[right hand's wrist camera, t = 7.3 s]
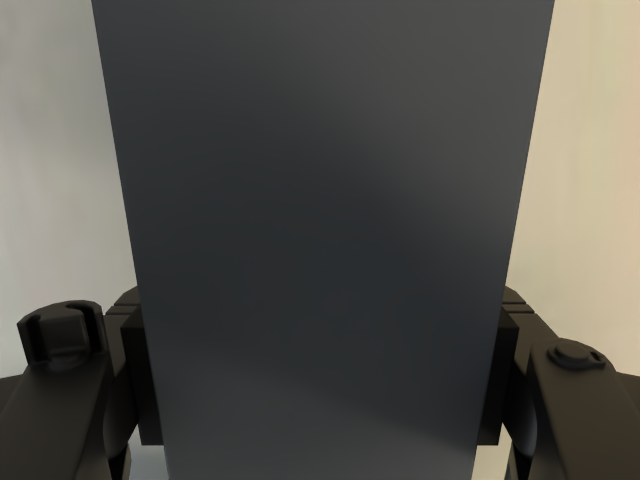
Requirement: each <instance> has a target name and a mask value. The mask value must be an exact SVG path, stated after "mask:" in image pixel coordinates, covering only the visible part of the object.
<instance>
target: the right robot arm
mask: <svg viewBox="0 0 640 480" xmlns="http://www.w3.org/2000/svg"><path fill="white" fill-rule="evenodd" d="M17 327H18V331H19V334H20V338H21V341H22V345H23V349H24V352H25V356H26V359H27V363H28V366H27V367H26V369H25V371H24V373H23V374H21V375H17V376H11V377H6V378H1V379H0V480H129V474H130V467H131V454H130V449H129V443H128V440H129V439H130V437H131V435H132V433H133V431H134V429H135V427H136V425H137V424H138V428H139V434H140V439H141V445H163V439H162V433H161V427H160V421H159V415H158V409H157V402H156V396H155V390H154V384H153V378H152V372H151V365H150V359H149V353H148V347H147V341H146V335H145V328H144V322H143V316H142V310H141V304H140V298H139V291H138V286H136V287H134V288H132V289H130V290H129V291H127V292H125V293H123V295H122V296H121V297H120V298H119V299H118V300H117V301H116V302H115V303H114V306H111V308H110V309H109V310H108V311H107V312H106V314H105V315H103V313H102V308H101V306H100V305H98V304H97V303H95V302H92V301H86V300H73V301H65V302H60V303H55V304H51V305H48V306H46V307H43V308H40V309H37V310H35V311H33V312H32V313H30V314H28V315H26V316H24V317H23V318H22V319H21V320H20V321H19V322H18V323H17ZM502 422H503V424H504V426H505V428H506V429H507V431H508V433H509V435H510V437H511V439H512V443H511V449H510V454H509V459H508V464H507V469H506V474H505V479H504V480H640V377H639V376H634V375H629V374H623V373H619V372H616V370H615V368H614V367H613V365H612V363H611V362H610V361H609V360H608V359H607V358H606V357H605V355H603V354H602V353H600V352H598V351H597V350H595V349H594V348H592V347H590V346H587V345H585V344H582V343H580V342H577V341H573V340H569V339H564V338H559V337H558V336H557V335H556V334H555V333H554V332H553V331H552V330H551V329H550V328H549V326H548V325H547V324H546V323H545V322H544V321H543V320H542V319H541V318H540V317H539V316H538V315H537V314H535V313H534V310H533V309H532V308H531V307H530V306H529V305H526V302H525V301H524V300H523V299H522V297H521V296H520V295H519V294H518V293H517V292H516V291H514V290H512V289H510V288H509V287H507V286H505V288H504V294H503V300H502V306H501V311H500V317H499V323H498V329H497V334H496V340H495V346H494V352H493V357H492V363H491V369H490V375H489V380H488V386H487V392H486V398H485V403H484V409H483V415H482V420H481V426H480V432H479V438H478V443H477V445H498V443H499V437H500V432H501V427H502Z"/></svg>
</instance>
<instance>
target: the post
mask: <svg viewBox="0 0 640 480" xmlns="http://www.w3.org/2000/svg"><path fill="white" fill-rule="evenodd" d="M554 1H555V0H91V2H92V8H93V14H94V20H95V26H96V32H97V39H98V45H99V51H100V57H101V63H102V69H103V76H104V82H105V88H106V94H107V100H108V106H109V113H110V119H111V125H112V131H113V137H114V143H115V150H116V156H117V162H118V168H119V174H120V180H121V187H122V193H123V199H124V205H125V211H126V217H127V224H128V230H129V236H130V242H131V248H132V254H133V261H134V267H135V273H136V279H137V285H138V291H139V298H140V304H141V310H142V316H143V322H144V328H145V335H146V341H147V347H148V353H149V359H150V365H151V372H152V378H153V384H154V390H155V396H156V402H157V409H158V415H159V421H160V427H161V433H162V439H163V446H164V452H165V458H166V464H167V470H168V476H169V480H471V478H472V472H473V466H474V461H475V455H476V449H477V443H478V438H479V432H480V426H481V420H482V415H483V409H484V403H485V398H486V392H487V386H488V380H489V375H490V369H491V363H492V357H493V352H494V346H495V340H496V334H497V329H498V323H499V317H500V311H501V306H502V300H503V294H504V288H505V283H506V277H507V271H508V265H509V260H510V254H511V248H512V243H513V237H514V231H515V225H516V220H517V214H518V208H519V202H520V197H521V191H522V185H523V179H524V174H525V168H526V162H527V156H528V151H529V145H530V139H531V133H532V128H533V122H534V116H535V110H536V105H537V99H538V93H539V88H540V82H541V76H542V70H543V65H544V59H545V53H546V47H547V42H548V36H549V30H550V24H551V19H552V13H553V7H554Z"/></svg>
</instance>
